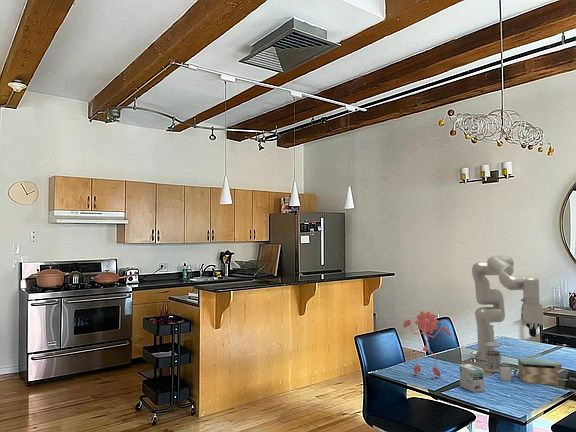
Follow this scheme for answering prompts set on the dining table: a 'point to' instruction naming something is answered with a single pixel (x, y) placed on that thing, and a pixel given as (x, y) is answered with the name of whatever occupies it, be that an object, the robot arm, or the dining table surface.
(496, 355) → the french press
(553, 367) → the storage box
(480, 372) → the light bulb box
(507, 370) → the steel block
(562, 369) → the packaged product
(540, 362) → the lid
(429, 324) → the figurine
